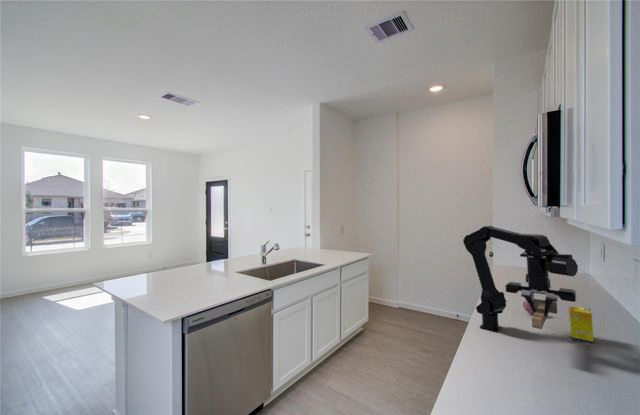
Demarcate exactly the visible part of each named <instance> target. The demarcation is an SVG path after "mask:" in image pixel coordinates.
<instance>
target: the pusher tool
mask: <svg viewBox="0 0 640 415" xmlns="http://www.w3.org/2000/svg"><path fill="white" fill-rule="evenodd" d="M534 301H535V306H536V312H535V313H534V314H532V317H531V328H535V329H539V330H543V327H544V324H545V322H546V320H547V318H548V316H549V314H550V313H551V314H558V303H557V302H558V301H557V302H554V301H553V302H552V304H551V306H550V308H549V311H548V314H547V317H545V315H544V310H545V300H544V299H539V298H534Z"/></svg>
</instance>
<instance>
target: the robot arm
mask: <svg viewBox="0 0 640 415" xmlns="http://www.w3.org/2000/svg"><path fill="white" fill-rule="evenodd" d="M491 238H493V239H495V240H496V239H497V240H501V241H503V242H507V243H510V244H514V245H516V246H517V247H519V249H521V250H524V251H523V252H522V253H521V254H520V255H519V256H520V257H524V258H526V269H527V270H526V272H527V273H525V282H526V283H527V284H528V286H526V285H522V283H521V282H515V281H514V282H513V281H509V282H508V283H507V284H506V285H505V293H511V294H517V293H518V292H521V294H520V295H521V297H523V298H524V299H525V301H526V300H527V302H528V303H529V305H530V307H531V309H532V311H533V313H535V312H536V306H535V301H534V299H535V295H534V294H538V295H539V294H540V295H545V296H546V297H545V310H544V315H545V317H547V318H548V316H547V314H548V315H549V313H548V311H549V308H550V306H551V304H552V302H558V300H559V299H560V300H562V301H566V302H573V303H574V302H576V301H577V291H576V290H574V289H572V288H571V289H570V288H563V287H559V289H558V290H557V289H551V279H550V277H549V273H550V274H556V275H561V276H566V277H574V276H576V275H577V273H578V269H579V267H578V266H579V265H578V263H577V261H576V260H575V259H574V258H573V255H572V254H567V253H566V254H562V253H559V251H558V250H557V249H556V248H555V247H554V245H552V244H551V242H550V240H549V238H548V236H546V235H544V234H535V233H534V234H533V233H532V234H531V233H520V232H515V231H511V230H507V229H504V228H499V227H496V226H493V225H484V226H482V227H481V228H479V229H478V230H475V231H474V232H471V233H470V234H467V235H465V236H464V238H463V241H462V242H463V245H464V247H465V249H466V251H467V252H468V253H469V254H470V255H471V256H472V259H473V263H474V266H475V269H476V272H477V276H478V279H479V284H480V287H481V289H482V290H481V293H480V304H478V305H477V306H475V309H476V312H477V313H478V314H479V315H480V314H481V317H482V318H481V322H482V323H481V325H479V329H483V330H485V331H486V330H487V331H490V332H494V333H495V332H496V333H499V331H500V330H501V328H502V326H501V325H499V315H500V314H503V311H504V310H505V309H506V307H507V299H506V298H505V293H504V292H503V291H499V289H497V287H496V285H495V282H494V277H493V276H492V272H491V269H490V266H489V263H488V259H487V256H486V251H487V242H488V241H490V240H491Z"/></svg>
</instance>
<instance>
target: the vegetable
mask: <svg viewBox="0 0 640 415" xmlns="http://www.w3.org/2000/svg"><path fill="white" fill-rule="evenodd" d="M522 307H523V309H524V311H525V312H527V313H528V314H529V315H534V313H533V311H532V309H531V307H530V305H529V303H528V302H527V300H526V299H525V300H524V301H523V303H522Z"/></svg>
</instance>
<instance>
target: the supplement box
mask: <svg viewBox="0 0 640 415" xmlns="http://www.w3.org/2000/svg"><path fill="white" fill-rule="evenodd" d="M568 317H569V319H568V320H569V334H570V336H571V337H570V339H571V340H573V341H578V342H582V343H589V344H594V343H595V342H594V328H593V313H592V312H591V309H590V308H588V307H587V308H586V307H581V306H572V305H568Z"/></svg>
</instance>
